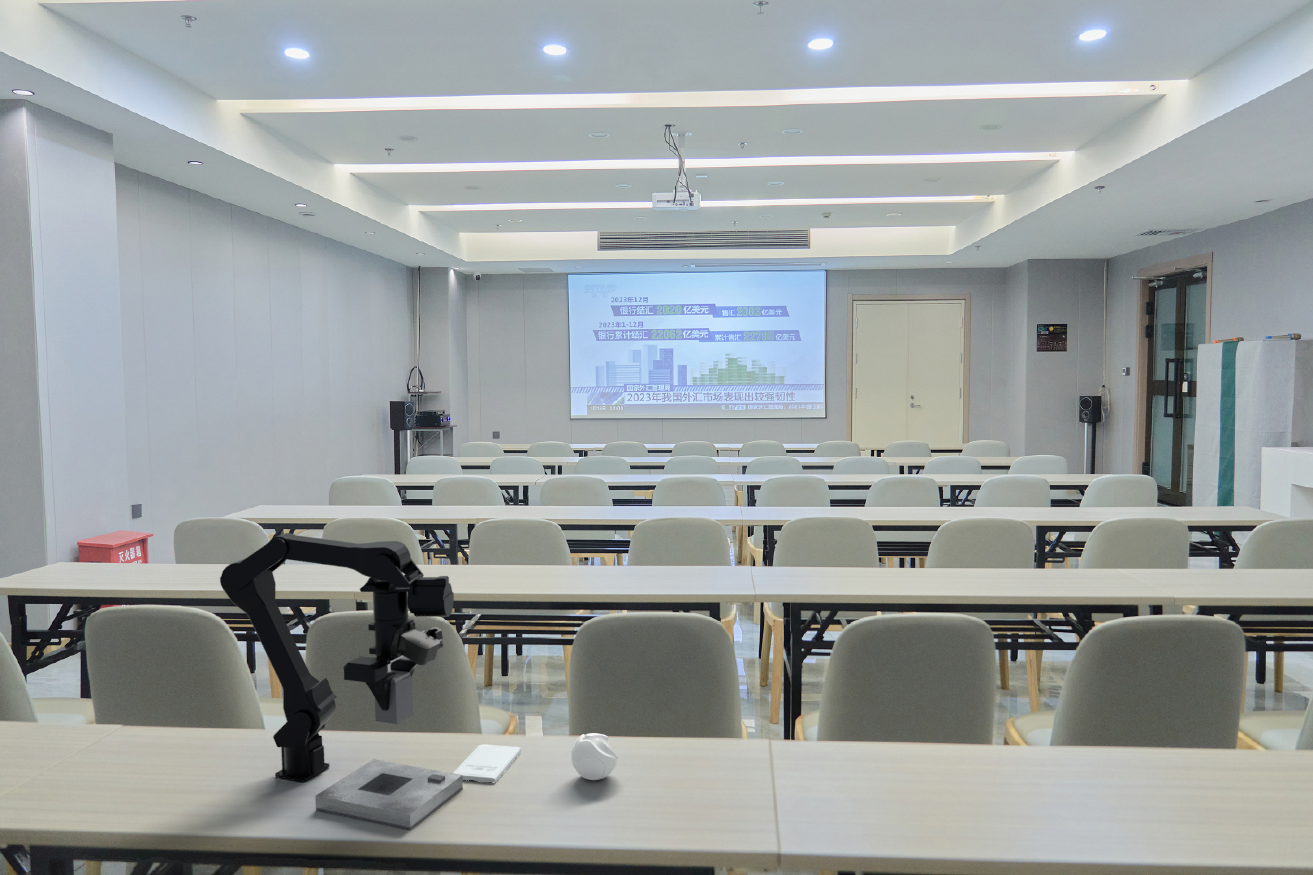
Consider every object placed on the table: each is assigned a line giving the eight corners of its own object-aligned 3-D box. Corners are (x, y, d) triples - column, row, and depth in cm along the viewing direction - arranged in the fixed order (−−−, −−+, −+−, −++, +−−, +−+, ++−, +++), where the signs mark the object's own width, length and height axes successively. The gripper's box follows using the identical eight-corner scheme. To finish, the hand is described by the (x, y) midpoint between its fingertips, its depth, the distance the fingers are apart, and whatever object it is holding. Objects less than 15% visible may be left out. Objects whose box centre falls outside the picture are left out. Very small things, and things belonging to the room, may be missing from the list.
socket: (315, 810, 136) (315, 792, 136) (374, 772, 149) (373, 756, 149) (410, 829, 130) (409, 811, 129) (462, 788, 143) (462, 771, 142)
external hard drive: (521, 755, 157) (495, 786, 145) (479, 752, 158) (450, 782, 146) (521, 746, 157) (495, 777, 144) (479, 743, 158) (450, 773, 146)
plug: (375, 720, 147) (373, 677, 146) (391, 711, 151) (390, 669, 151) (397, 724, 145) (395, 680, 145) (412, 714, 150) (411, 671, 149)
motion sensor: (624, 782, 144) (623, 737, 144) (582, 792, 141) (581, 746, 140) (605, 764, 151) (605, 721, 151) (565, 773, 148) (564, 729, 148)
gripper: (397, 635, 136) (400, 731, 137) (461, 606, 153) (463, 691, 154) (339, 629, 139) (342, 723, 140) (408, 601, 157) (410, 685, 158)
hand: (393, 705), depth 148 cm, fingers closed on plug, 4 cm apart
